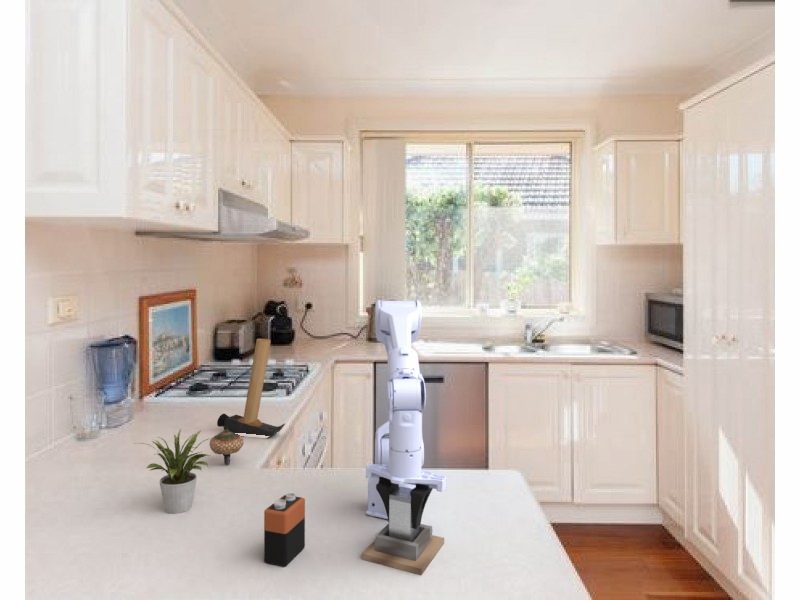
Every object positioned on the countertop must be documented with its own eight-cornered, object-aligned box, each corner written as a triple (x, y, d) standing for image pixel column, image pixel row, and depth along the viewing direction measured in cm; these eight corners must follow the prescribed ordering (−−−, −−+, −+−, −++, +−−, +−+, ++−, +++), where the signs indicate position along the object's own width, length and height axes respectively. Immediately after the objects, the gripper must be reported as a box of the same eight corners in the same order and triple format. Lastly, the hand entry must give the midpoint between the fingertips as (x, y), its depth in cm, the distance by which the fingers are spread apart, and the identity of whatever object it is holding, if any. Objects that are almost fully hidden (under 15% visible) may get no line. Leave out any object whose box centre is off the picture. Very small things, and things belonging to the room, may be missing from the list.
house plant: (137, 534, 94) (136, 447, 93) (129, 505, 105) (128, 428, 105) (217, 515, 102) (216, 434, 101) (201, 490, 113) (201, 418, 113)
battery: (262, 563, 85) (262, 504, 84) (284, 543, 91) (284, 488, 91) (285, 568, 83) (285, 508, 83) (305, 547, 90) (306, 492, 89)
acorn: (206, 463, 130) (205, 424, 130) (238, 457, 135) (238, 420, 134) (213, 473, 123) (213, 432, 123) (247, 466, 128) (247, 427, 128)
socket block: (361, 559, 86) (361, 539, 86) (389, 530, 96) (389, 512, 96) (421, 575, 82) (421, 553, 82) (444, 543, 92) (444, 524, 92)
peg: (388, 540, 88) (389, 494, 88) (398, 529, 92) (399, 486, 91) (410, 545, 86) (410, 498, 86) (418, 534, 90) (419, 490, 90)
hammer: (282, 441, 155) (298, 346, 152) (273, 447, 150) (291, 348, 147) (225, 424, 160) (240, 331, 157) (215, 428, 155) (231, 333, 152)
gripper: (357, 447, 88) (357, 524, 88) (436, 460, 82) (435, 543, 82) (376, 436, 94) (375, 508, 95) (450, 447, 88) (449, 524, 89)
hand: (404, 523), depth 89 cm, fingers closed on peg, 4 cm apart
